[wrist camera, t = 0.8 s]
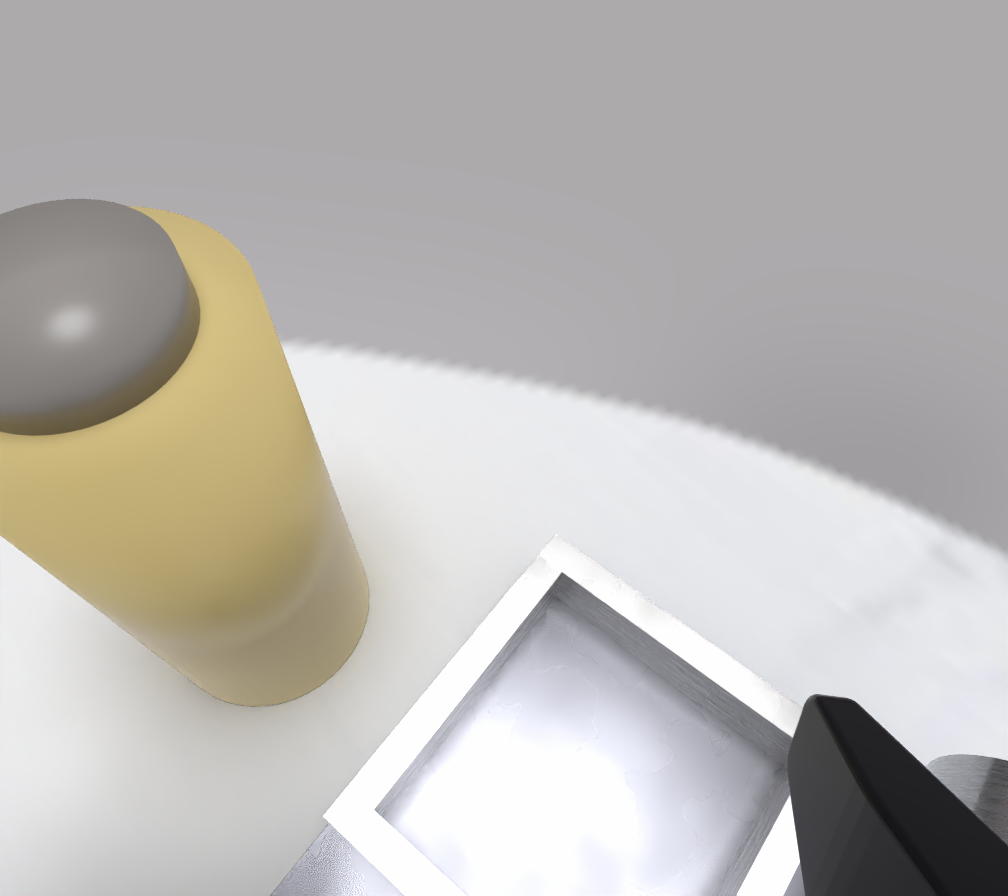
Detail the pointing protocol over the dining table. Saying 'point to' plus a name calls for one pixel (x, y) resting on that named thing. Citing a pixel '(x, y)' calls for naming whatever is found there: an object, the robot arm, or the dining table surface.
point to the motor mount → (585, 763)
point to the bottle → (169, 450)
